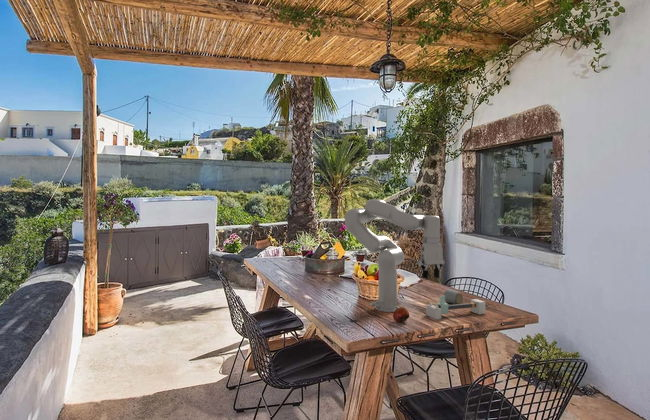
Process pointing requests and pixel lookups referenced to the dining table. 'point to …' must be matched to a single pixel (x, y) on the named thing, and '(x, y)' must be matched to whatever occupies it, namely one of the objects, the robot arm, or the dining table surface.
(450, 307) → the rail
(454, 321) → the dining table surface
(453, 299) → the ceramic mug
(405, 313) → the pomegranate
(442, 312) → the sleeve
